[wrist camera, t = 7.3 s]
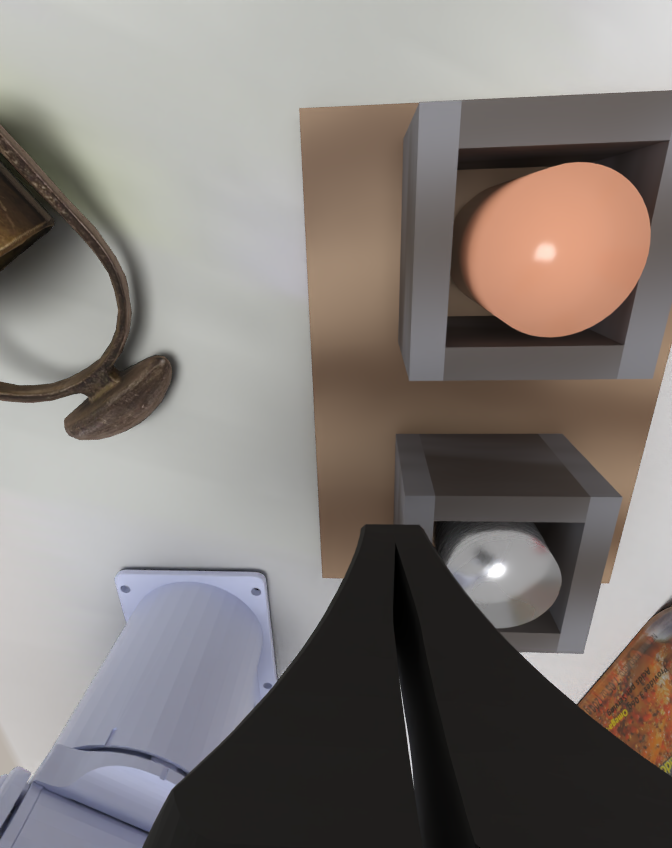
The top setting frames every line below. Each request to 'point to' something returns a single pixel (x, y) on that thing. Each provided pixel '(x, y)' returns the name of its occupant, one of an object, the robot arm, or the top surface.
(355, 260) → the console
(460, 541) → the steel plunger
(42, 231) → the brown curved piece
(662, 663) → the tin
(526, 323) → the terracotta plunger
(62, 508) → the top surface
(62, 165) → the top surface
